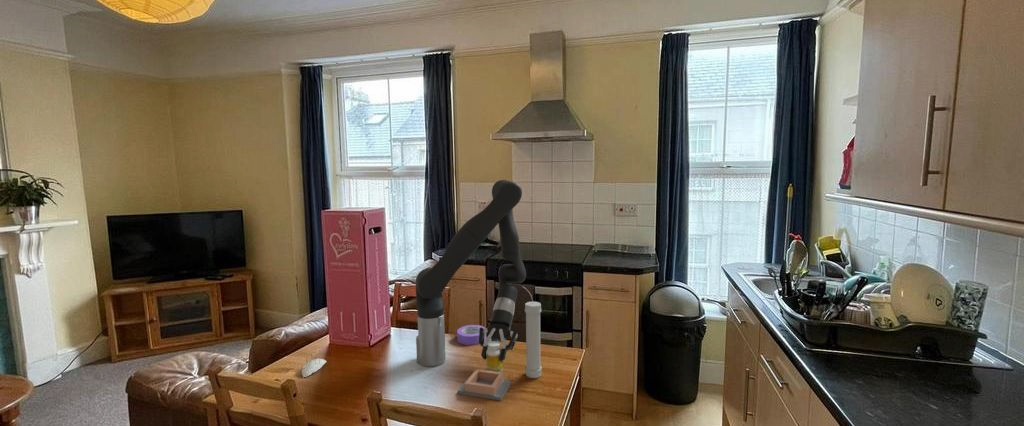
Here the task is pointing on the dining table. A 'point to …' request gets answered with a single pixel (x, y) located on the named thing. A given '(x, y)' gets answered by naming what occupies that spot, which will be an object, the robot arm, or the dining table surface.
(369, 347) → the dining table surface
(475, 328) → the masking tape
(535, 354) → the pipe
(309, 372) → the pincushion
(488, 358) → the supplement bottle
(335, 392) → the dining table surface
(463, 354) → the dining table surface
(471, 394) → the holder
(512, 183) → the robot arm
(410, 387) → the dining table surface
